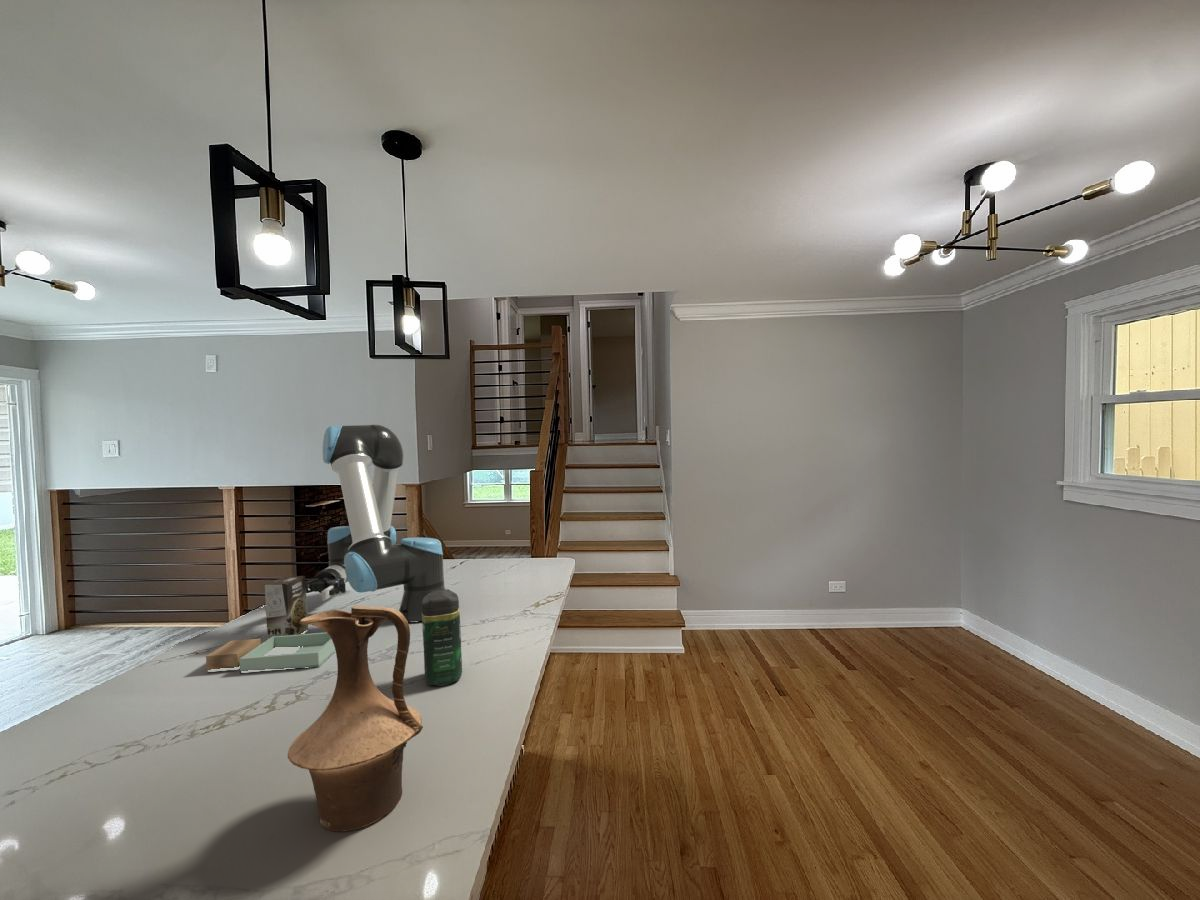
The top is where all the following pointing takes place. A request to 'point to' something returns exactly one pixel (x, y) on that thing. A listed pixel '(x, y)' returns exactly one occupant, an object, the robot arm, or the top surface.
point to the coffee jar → (441, 637)
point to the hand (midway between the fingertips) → (298, 598)
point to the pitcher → (358, 725)
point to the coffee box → (286, 606)
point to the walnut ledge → (231, 653)
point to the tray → (310, 655)
